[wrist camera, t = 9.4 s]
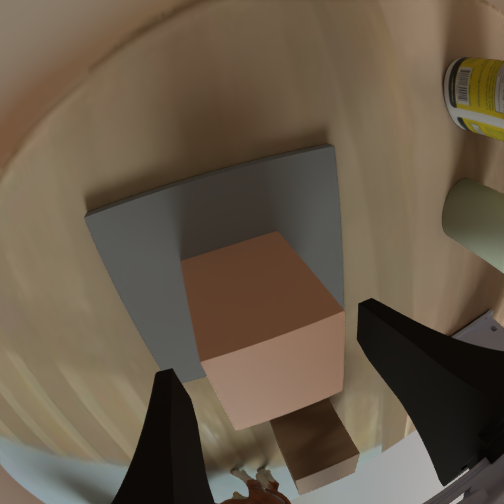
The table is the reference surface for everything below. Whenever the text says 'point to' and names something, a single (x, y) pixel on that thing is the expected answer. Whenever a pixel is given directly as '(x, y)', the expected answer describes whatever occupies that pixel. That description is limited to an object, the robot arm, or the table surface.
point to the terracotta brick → (264, 329)
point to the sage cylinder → (476, 220)
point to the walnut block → (315, 446)
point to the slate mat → (215, 238)
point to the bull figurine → (258, 489)
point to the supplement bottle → (476, 95)
